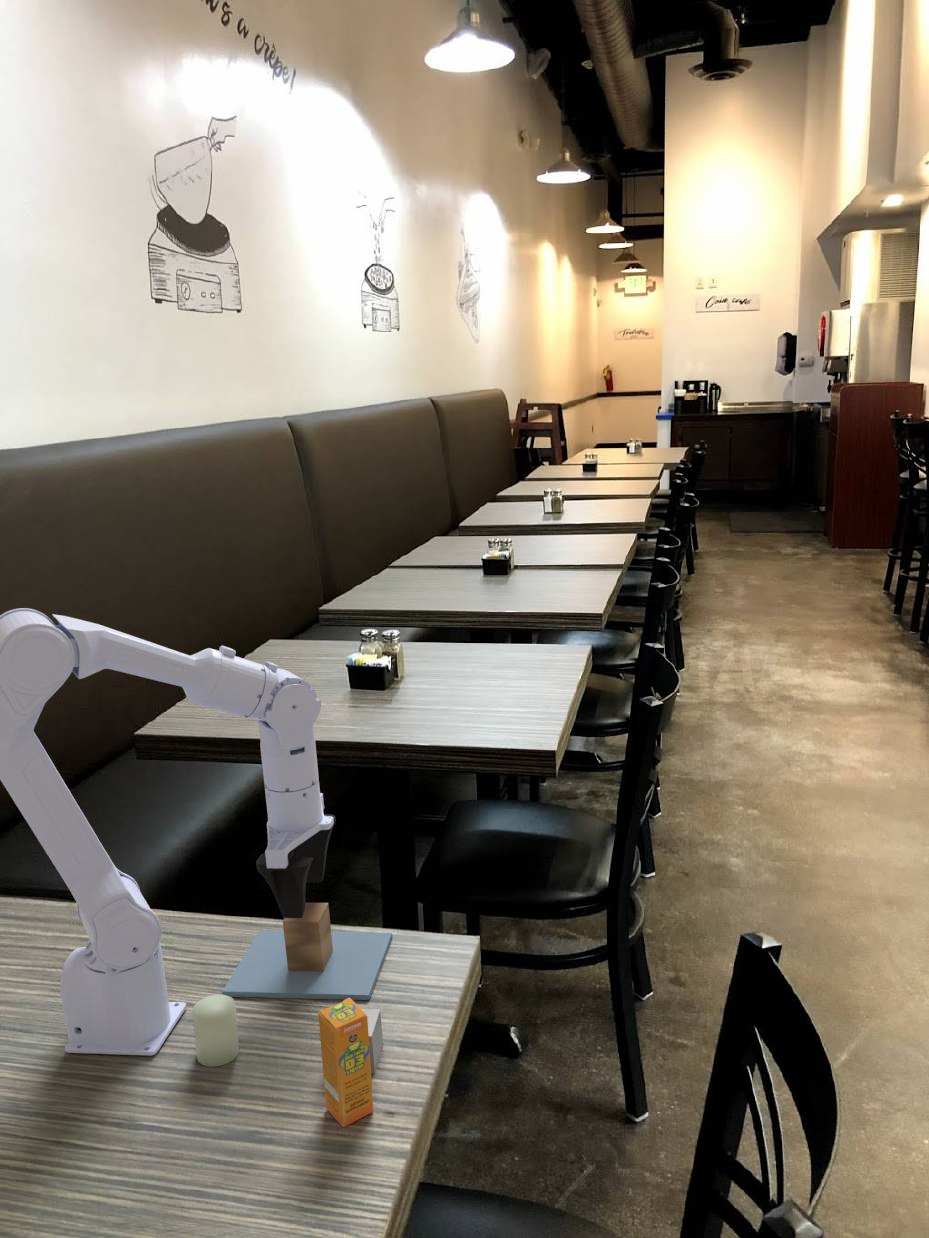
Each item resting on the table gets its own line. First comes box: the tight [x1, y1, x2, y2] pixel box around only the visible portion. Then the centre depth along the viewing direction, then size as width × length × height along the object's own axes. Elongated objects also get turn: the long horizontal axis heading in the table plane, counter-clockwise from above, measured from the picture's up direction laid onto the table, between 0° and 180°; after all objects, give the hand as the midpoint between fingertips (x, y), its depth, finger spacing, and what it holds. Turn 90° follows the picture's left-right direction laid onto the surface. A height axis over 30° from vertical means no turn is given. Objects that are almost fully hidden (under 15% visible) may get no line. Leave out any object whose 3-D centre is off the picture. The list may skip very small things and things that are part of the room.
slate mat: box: [221, 930, 393, 1001], centre depth 108 cm, size 16×12×1 cm
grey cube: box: [361, 1008, 384, 1074], centre depth 92 cm, size 4×4×4 cm
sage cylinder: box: [192, 994, 240, 1068], centre depth 94 cm, size 4×4×5 cm
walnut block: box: [282, 902, 333, 972], centre depth 107 cm, size 4×4×6 cm
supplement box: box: [317, 998, 374, 1128], centre depth 84 cm, size 3×3×10 cm
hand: (303, 898), depth 106 cm, fingers open, 7 cm apart
